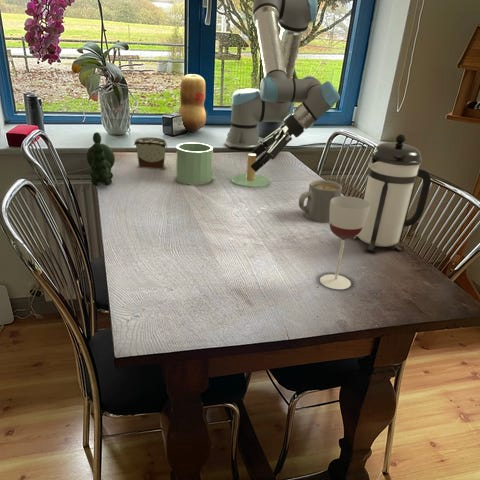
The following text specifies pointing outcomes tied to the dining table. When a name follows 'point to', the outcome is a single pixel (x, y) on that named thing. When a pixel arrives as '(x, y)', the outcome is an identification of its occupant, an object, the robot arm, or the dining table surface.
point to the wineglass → (345, 230)
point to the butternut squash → (192, 102)
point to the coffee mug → (319, 199)
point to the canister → (194, 163)
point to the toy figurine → (100, 161)
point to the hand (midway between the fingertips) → (251, 163)
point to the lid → (250, 175)
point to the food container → (151, 152)
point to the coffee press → (392, 193)
